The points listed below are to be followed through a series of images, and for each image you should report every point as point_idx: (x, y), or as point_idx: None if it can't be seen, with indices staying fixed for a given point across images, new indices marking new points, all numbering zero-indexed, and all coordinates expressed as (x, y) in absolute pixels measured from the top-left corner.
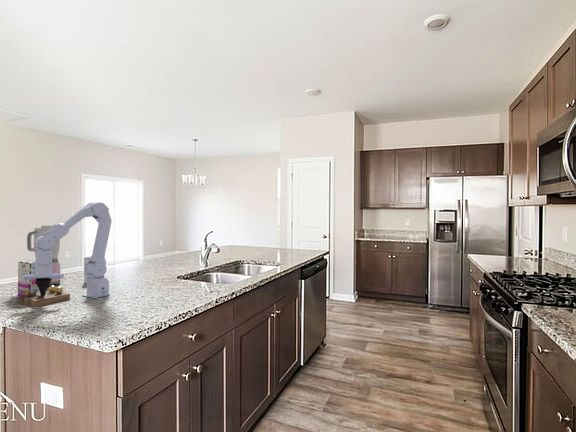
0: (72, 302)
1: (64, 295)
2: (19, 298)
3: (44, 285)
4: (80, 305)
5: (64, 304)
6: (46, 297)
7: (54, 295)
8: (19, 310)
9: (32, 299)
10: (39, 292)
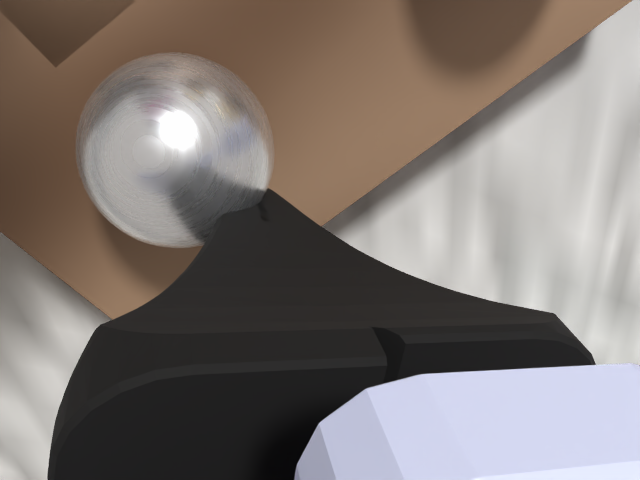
0: (598, 194)
1: (579, 30)
2: None
3: None
4: (635, 358)
5: (501, 269)
6: (286, 160)
7: (416, 16)
8: (2, 409)
9: (61, 245)
10: (166, 244)
